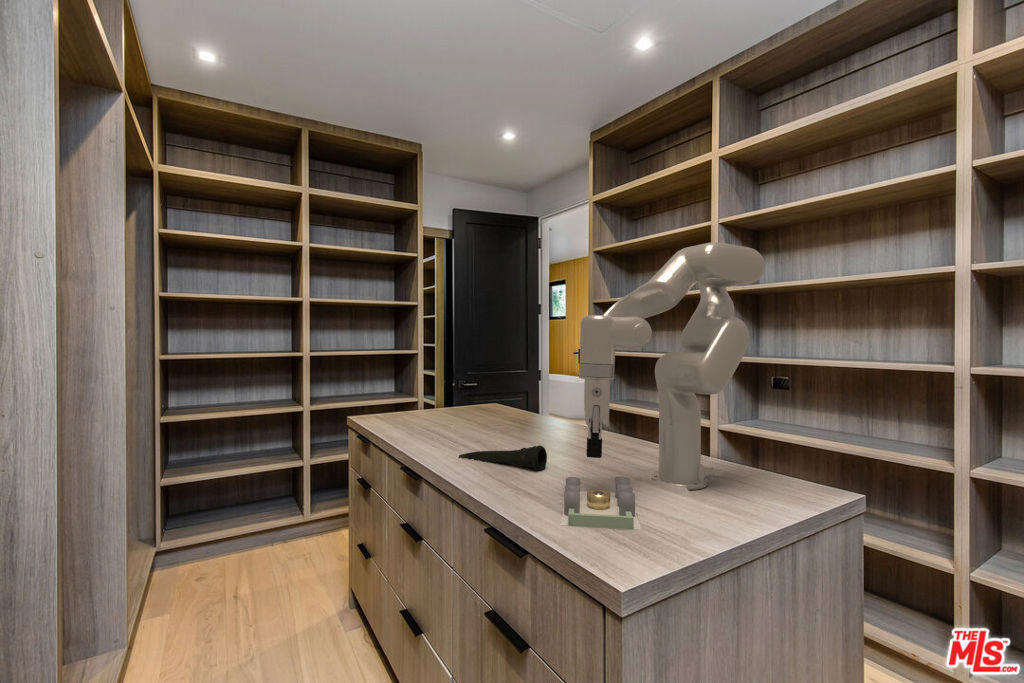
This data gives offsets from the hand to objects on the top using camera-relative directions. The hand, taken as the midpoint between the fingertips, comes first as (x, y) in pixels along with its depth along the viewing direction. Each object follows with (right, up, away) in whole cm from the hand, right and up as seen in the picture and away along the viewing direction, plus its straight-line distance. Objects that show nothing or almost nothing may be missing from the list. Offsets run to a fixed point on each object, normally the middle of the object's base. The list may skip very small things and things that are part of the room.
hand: (594, 456), depth 104 cm
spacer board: (-1, -9, -9) cm, 13 cm away
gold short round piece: (0, -8, -8) cm, 11 cm away
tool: (-22, -10, +29) cm, 37 cm away
